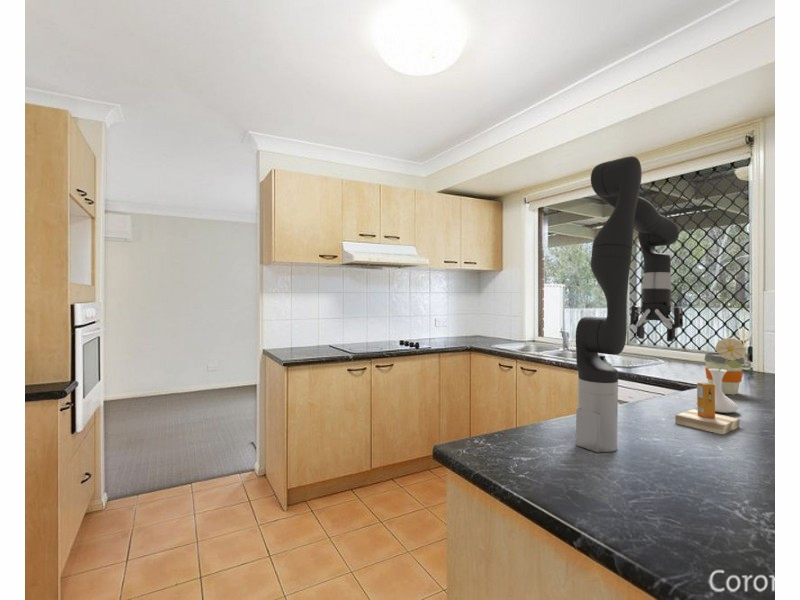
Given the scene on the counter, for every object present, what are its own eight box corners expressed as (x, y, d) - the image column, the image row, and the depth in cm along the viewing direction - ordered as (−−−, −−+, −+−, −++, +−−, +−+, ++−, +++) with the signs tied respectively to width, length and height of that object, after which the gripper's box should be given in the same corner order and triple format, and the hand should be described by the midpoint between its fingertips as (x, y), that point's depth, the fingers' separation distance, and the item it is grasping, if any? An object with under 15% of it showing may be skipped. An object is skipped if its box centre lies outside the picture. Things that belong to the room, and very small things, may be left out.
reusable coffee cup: (749, 393, 162) (750, 355, 162) (735, 397, 156) (735, 358, 156) (712, 387, 173) (713, 351, 173) (697, 390, 167) (698, 354, 167)
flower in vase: (692, 410, 139) (693, 336, 138) (700, 404, 146) (701, 334, 146) (741, 419, 129) (743, 339, 129) (747, 412, 137) (749, 337, 136)
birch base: (722, 434, 115) (722, 425, 115) (675, 423, 125) (675, 414, 125) (739, 427, 121) (739, 418, 121) (693, 416, 131) (693, 408, 131)
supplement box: (707, 415, 125) (708, 382, 125) (715, 418, 121) (716, 384, 121) (696, 414, 125) (696, 382, 125) (703, 418, 122) (704, 384, 121)
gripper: (626, 287, 131) (625, 338, 131) (675, 287, 119) (674, 342, 119) (639, 288, 135) (638, 337, 135) (688, 287, 123) (686, 342, 123)
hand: (655, 340), depth 127 cm, fingers open, 8 cm apart
